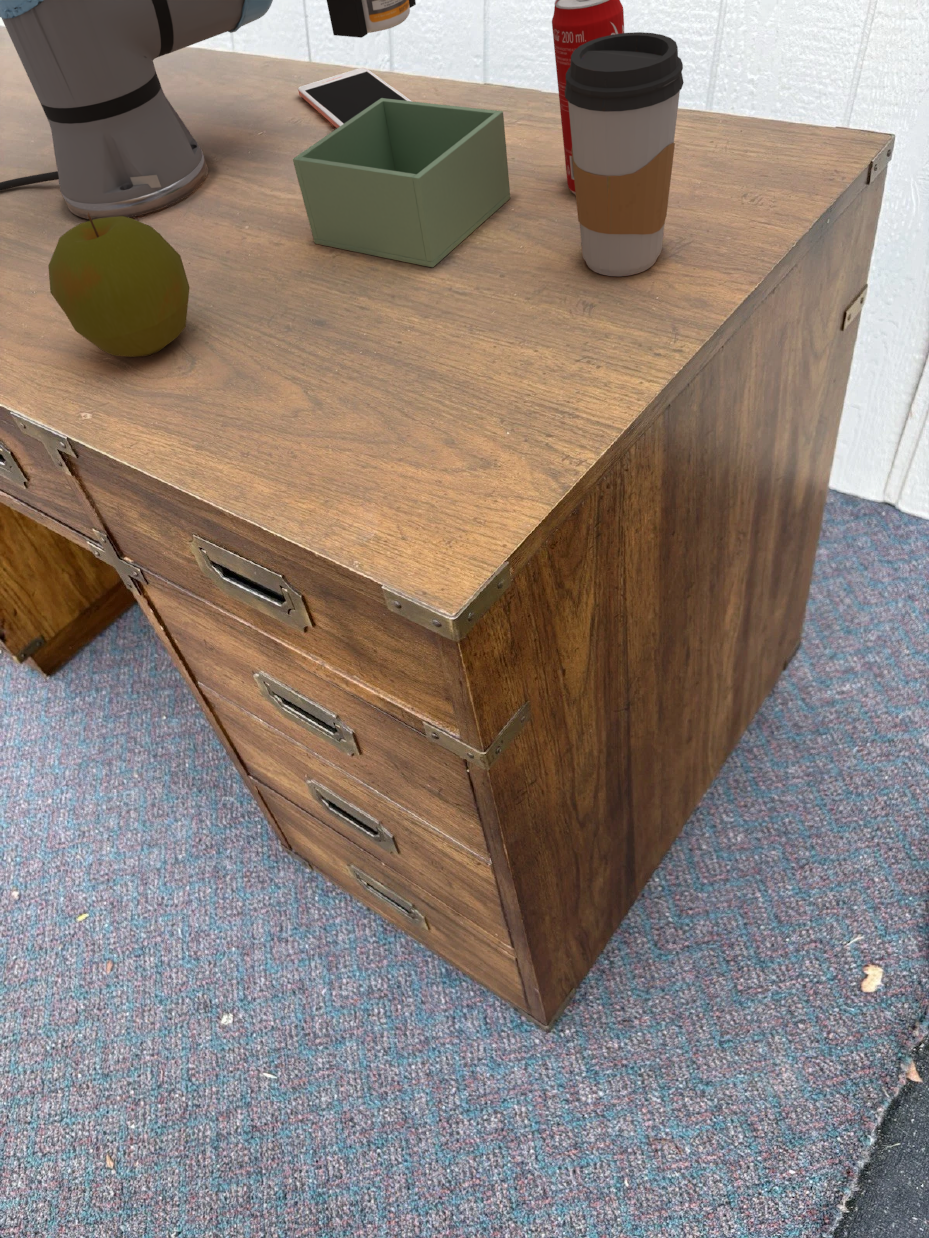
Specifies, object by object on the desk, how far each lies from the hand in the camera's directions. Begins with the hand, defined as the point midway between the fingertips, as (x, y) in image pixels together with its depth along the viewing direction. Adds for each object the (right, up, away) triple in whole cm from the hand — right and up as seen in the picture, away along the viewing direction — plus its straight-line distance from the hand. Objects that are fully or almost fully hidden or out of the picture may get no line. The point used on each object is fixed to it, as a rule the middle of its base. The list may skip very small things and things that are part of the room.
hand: (375, 19), depth 68 cm
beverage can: (+19, -6, +13) cm, 24 cm away
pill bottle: (0, 0, 0) cm, 0 cm away
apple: (-19, -24, +5) cm, 31 cm away
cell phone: (-5, +12, +33) cm, 36 cm away
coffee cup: (+20, -17, +5) cm, 26 cm away
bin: (+2, -10, +13) cm, 16 cm away
